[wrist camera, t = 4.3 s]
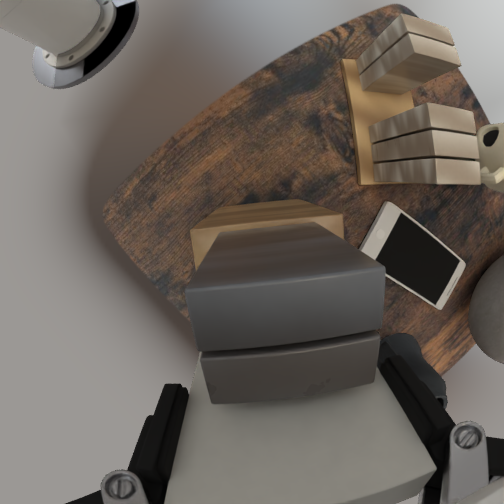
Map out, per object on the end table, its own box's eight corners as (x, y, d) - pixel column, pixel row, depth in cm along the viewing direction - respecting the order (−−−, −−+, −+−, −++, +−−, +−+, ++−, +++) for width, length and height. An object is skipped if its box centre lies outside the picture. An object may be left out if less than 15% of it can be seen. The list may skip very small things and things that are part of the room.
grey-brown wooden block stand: (339, 61, 24) (383, 8, 12) (401, 68, 24) (460, 31, 12) (357, 184, 27) (421, 188, 16) (418, 183, 27) (492, 189, 16)
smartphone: (385, 199, 28) (388, 200, 27) (463, 262, 29) (467, 264, 28) (353, 256, 29) (356, 259, 28) (437, 308, 31) (440, 311, 30)
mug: (425, 357, 33) (464, 403, 22) (376, 396, 34) (404, 449, 23) (395, 305, 31) (445, 352, 20) (337, 351, 32) (367, 413, 21)
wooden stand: (218, 207, 28) (124, 283, 6) (298, 198, 28) (433, 248, 6) (234, 316, 31) (214, 504, 9) (305, 308, 31) (375, 483, 9)
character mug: (466, 119, 25) (537, 107, 12) (485, 167, 26) (556, 171, 14) (416, 150, 26) (496, 141, 14) (439, 204, 28) (518, 220, 15)
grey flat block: (208, 318, 15) (161, 509, 4) (336, 303, 15) (437, 468, 4) (214, 345, 15) (182, 529, 5) (335, 331, 15) (417, 495, 5)
